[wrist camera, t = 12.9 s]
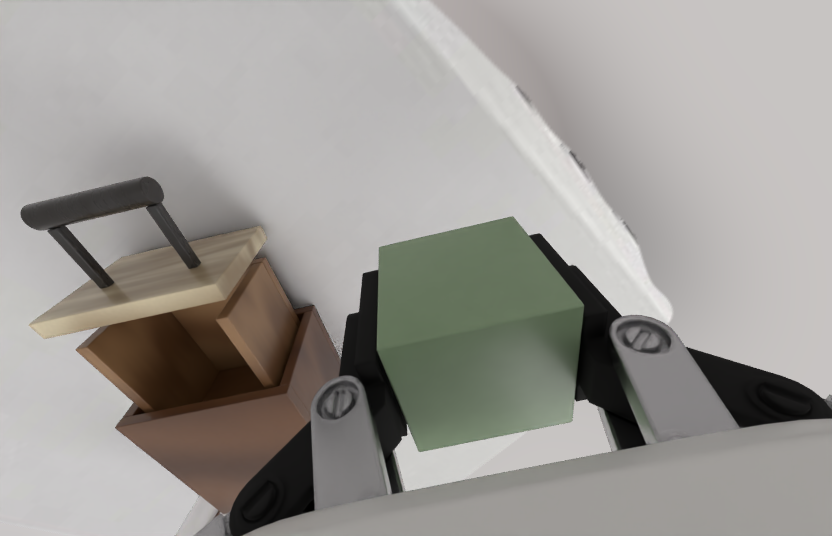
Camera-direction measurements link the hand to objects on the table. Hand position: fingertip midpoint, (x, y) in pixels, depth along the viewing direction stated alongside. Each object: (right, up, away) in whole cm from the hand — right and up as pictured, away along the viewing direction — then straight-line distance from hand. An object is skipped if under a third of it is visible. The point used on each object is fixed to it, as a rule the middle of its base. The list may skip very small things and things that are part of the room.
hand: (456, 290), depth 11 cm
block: (0, 0, 0) cm, 0 cm away
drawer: (-18, 0, +16) cm, 24 cm away
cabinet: (-16, -10, +23) cm, 30 cm away
